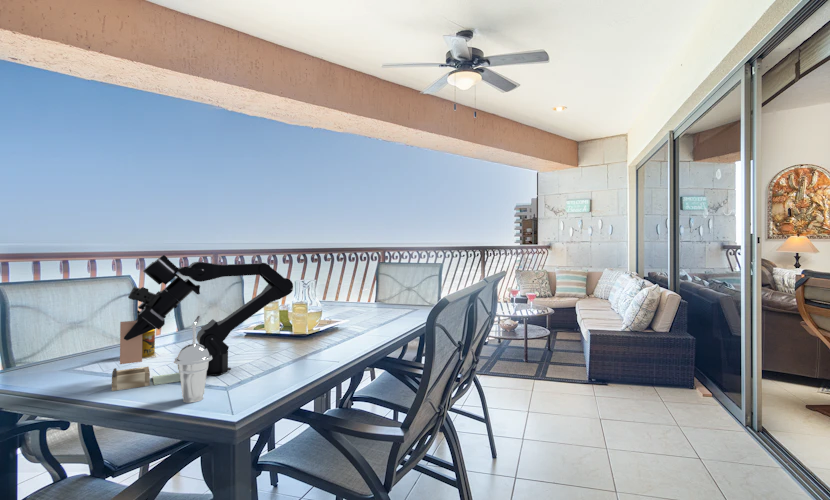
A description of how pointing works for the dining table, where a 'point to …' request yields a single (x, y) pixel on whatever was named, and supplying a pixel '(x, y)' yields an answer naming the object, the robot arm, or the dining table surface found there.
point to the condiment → (148, 344)
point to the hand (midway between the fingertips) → (125, 338)
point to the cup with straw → (193, 369)
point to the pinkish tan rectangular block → (129, 345)
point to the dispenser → (130, 378)
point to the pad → (166, 378)
